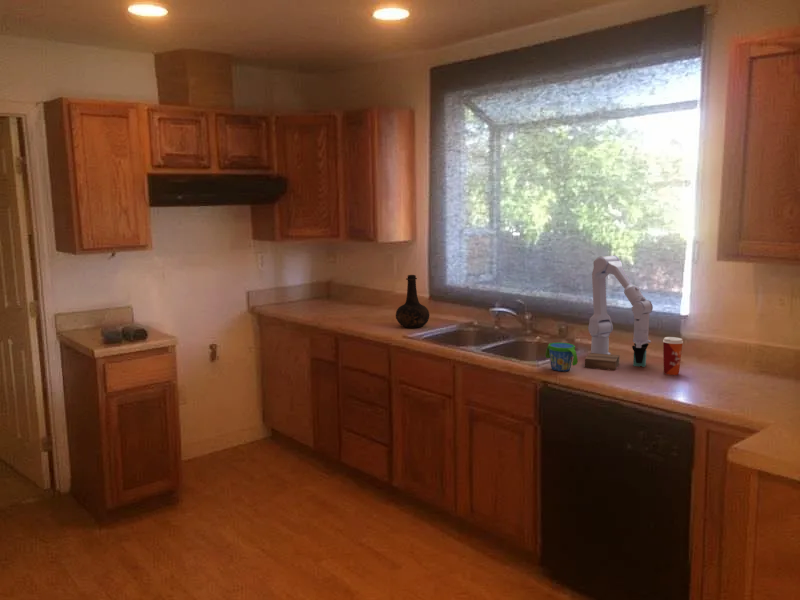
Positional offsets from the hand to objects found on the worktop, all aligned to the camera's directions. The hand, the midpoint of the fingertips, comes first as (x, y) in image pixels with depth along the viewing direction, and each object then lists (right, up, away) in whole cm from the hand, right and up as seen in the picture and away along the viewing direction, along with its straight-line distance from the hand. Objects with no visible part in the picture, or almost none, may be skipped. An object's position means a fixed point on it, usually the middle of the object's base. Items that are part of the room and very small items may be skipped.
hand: (639, 361), depth 293 cm
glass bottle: (-93, +11, +87) cm, 128 cm away
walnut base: (-16, -2, 0) cm, 16 cm away
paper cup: (+8, -4, -13) cm, 16 cm away
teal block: (0, -1, 0) cm, 1 cm away
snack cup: (-34, -3, -7) cm, 35 cm away
